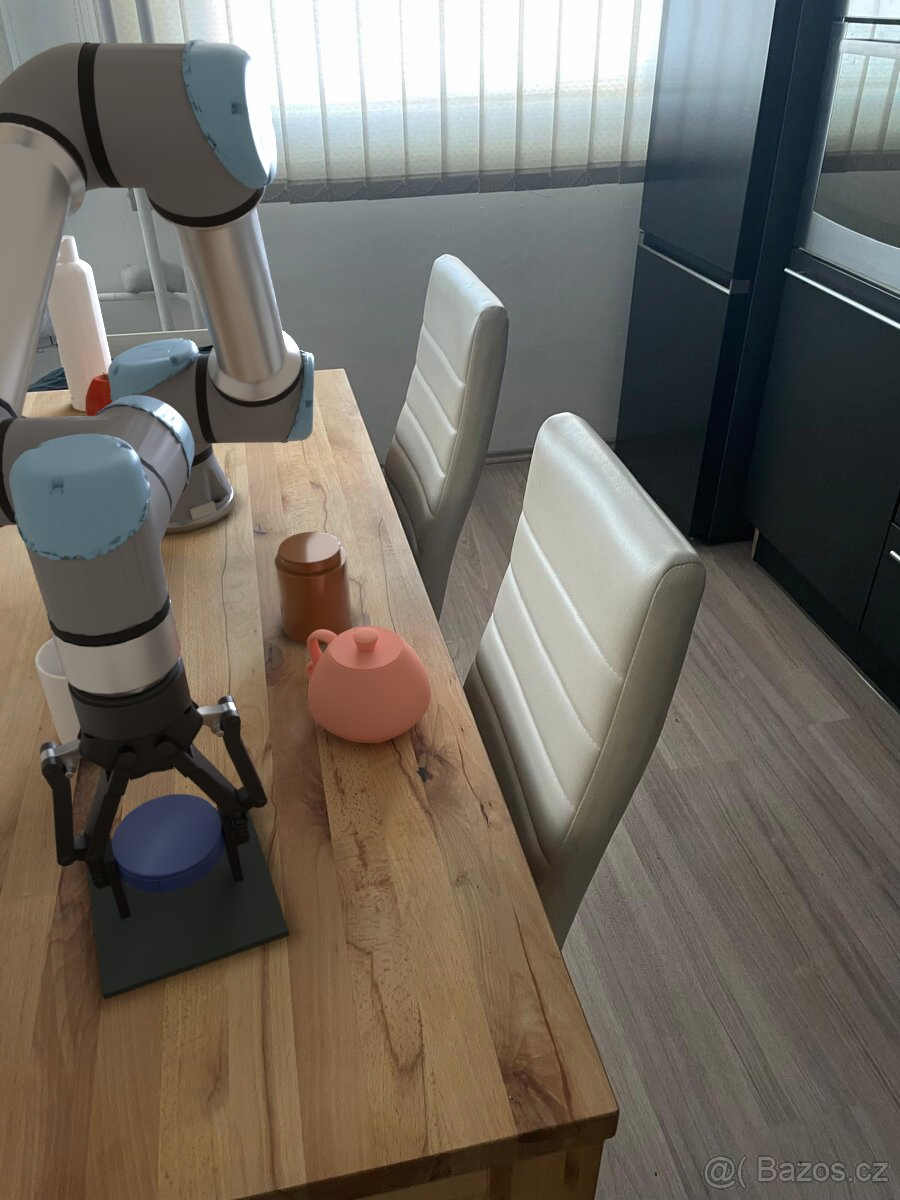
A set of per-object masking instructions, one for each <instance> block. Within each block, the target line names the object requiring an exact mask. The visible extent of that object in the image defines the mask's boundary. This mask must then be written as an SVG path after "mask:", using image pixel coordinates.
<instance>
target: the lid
mask: <svg viewBox="0 0 900 1200" xmlns="http://www.w3.org/2000/svg"><path fill="white" fill-rule="evenodd" d="M111 839H112V848H113V855H114V859H115V862H116V865H117V869H118V872H119V874H120V876H121V877H122V879H123V880H124V881H125V882H126V883H128V884H129V885H130V886H132V887H134V888H136V889H139V890H142V891H146V892H153V893H161V892H170V891H175V890H178V889H182V888H184V887H187V886H189V885H191V884H193V883H195V882H197V881H199V880H200V879H202V878H203V877H204V876H206V875H207V874H208V873H209V872H210V871H211V870H212V869H213V868H214V867H215V866H216V864H217V863H218V861H219V860H220V858H221V856H222V854H223V851H224V848H225V836H224V831H223V827H222V822H221V819H220V815H219V812H218V810H217V806H215V805H214V804H213V803H211V802H210V801H209V800H207V799H205V798H203V797H200V796H198V795H194V794H188V793H173V794H172V793H171V794H167V795H162V796H157V797H154V798H152V799H149V800H147V801H145V802H143V803H141V804H140V805H138V806H136V807H135V808H133V809H132V810H131V811H129V812H128V813H127V814H126V815H125V816H124V817H123V819H122V820H121V821H120V822H119V823H118V825H117V826H116V828H115V830H114V833H113V835H112V837H111Z"/></svg>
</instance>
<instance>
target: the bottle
mask: <svg viewBox="0 0 900 1200" xmlns="http://www.w3.org/2000/svg"><path fill="white" fill-rule="evenodd" d="M76 243H77V242H76V239H75V236H73V235H67V234H66V235H64V234H63V236H62V240H61V244H60V249H59V253H58V258H57V262H56V266H55V271H54V275H53V280H52V284H51V288H50V293H49V297H48V302H47V306H48V310H49V314H50V319H51V323H52V326H53V330H54V335H55V339H56V343H57V348H58V351H59V355H60V360H61V363H62V367H63V371H64V376H65V380H66V383H67V388H68V392H69V395H70V400H71V404H72V408H74V409H75V410H77V411H80V412H86V410H85V408H86V394H87V391H88V388H89V385H90V383H91V381H92V380H93V379H94V378H95V377H97V376H100V375H104V374H108V369H109V366H110V364H111V362H112V361H113V360H112V357H111V353H110V352H111V351H110V348H109V343H108V339H107V333H106V328H105V325H104V324H105V323H104V320H103V316H102V315H103V314H102V310H101V306H100V305H101V304H100V300H99V297H98V292H97V287H96V283H95V277H94V274H93V269H92V267H91V265H90V264H89V263H87V262H86V261H84V260H82V259H80V258H79V253H78V249H77V244H76ZM103 372H104V374H103Z"/></svg>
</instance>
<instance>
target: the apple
mask: <svg viewBox="0 0 900 1200" xmlns="http://www.w3.org/2000/svg"><path fill="white" fill-rule="evenodd" d="M103 374H104V372H103ZM110 393H111V389H110V383H109V377H108V374H104V375H100V376H97V377H95V378H94V379H93V380H92V381H91V383H90V385H89V388H88V391H87V394H86V400H85V402H86V408H85V410H86V411H85V412H86V416H95V415H96V414H97V413H98V411H101V410H102V409H103V408H104V407H106V406H107V405H109V404H111V403H112V402H113V401H112V400H111V398H110Z"/></svg>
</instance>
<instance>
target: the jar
mask: <svg viewBox="0 0 900 1200" xmlns="http://www.w3.org/2000/svg"><path fill="white" fill-rule="evenodd" d="M348 566H349V565H348V556H347V552H346V551H345V549H344V548H343V547H342V545H341V541H340V540H339V539H338V538H337V537H336V536H335V535H332V534H330V533H328V532H322V531H304V532H299V533H296V534H293V535H290V536H288V537H287V538H285V539H283V541H281V543H280V544H279V546H278V550H277V554H276V555H275V558H274V569H275V576H276V577H275V578H276V584H277V593H278V601H279V607H280V615H281V623H282V624H281V625H282V629H283V630H282V631H283V632H284V635H285V636H287V637H288V639H290V640H291V641H294V642H297V643H300V644H305V645H307V640H308V637H309V636H310V635H311V634H312V633H313V632H315V631H317V630H321V629H324V630H329V631H331V632H333V633H334V634H336V635H337V636H338V635H339V634H341V633H343V632H345V631H347V630H349V629H351V626H352V625H353V619H352V618H353V617H352V605H351V592H350V580H349V567H348ZM318 644H319V645H320V644H321V645H322V644H327V643H326V642H324V641H322V640H319V639H318Z"/></svg>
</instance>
